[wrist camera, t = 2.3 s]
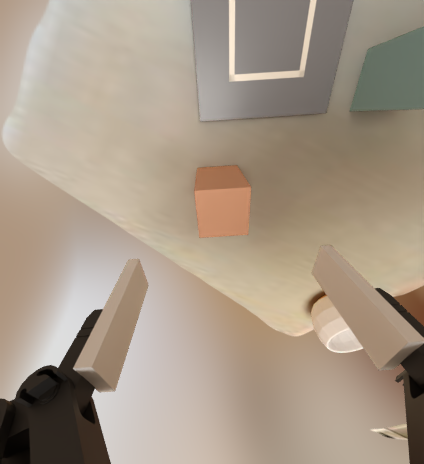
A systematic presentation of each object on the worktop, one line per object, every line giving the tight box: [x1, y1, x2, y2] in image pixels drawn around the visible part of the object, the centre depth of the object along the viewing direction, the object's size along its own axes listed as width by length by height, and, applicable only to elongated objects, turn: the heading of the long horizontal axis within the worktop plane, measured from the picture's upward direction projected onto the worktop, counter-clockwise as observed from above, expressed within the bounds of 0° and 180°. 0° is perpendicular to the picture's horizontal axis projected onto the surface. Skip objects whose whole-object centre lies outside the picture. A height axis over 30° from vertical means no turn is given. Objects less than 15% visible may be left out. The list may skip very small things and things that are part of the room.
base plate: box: [191, 0, 353, 121], centre depth 19 cm, size 16×16×2 cm
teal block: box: [350, 27, 424, 111], centre depth 18 cm, size 6×6×10 cm
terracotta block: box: [194, 165, 251, 238], centre depth 25 cm, size 6×6×10 cm
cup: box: [311, 295, 363, 353], centre depth 42 cm, size 12×12×10 cm
